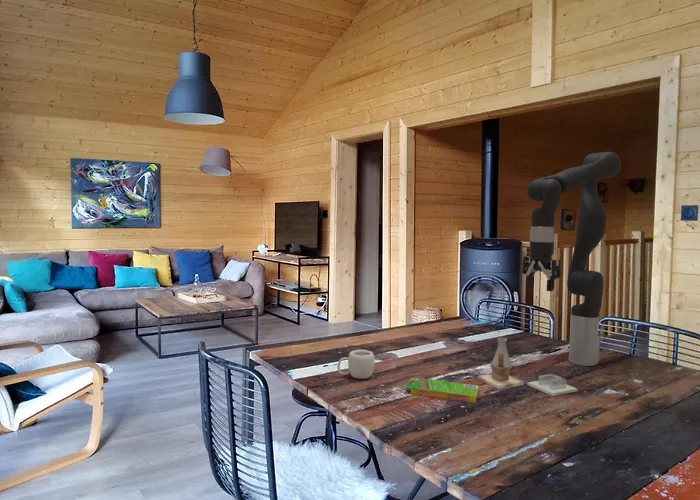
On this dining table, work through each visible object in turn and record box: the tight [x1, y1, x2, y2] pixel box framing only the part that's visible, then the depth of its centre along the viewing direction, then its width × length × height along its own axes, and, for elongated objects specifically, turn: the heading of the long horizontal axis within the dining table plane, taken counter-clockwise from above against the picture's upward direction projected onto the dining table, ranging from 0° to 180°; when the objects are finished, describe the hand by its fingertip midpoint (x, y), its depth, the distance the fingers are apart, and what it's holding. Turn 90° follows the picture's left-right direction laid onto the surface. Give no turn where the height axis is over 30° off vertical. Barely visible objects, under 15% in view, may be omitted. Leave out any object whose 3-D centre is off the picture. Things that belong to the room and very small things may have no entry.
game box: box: [405, 377, 480, 404], centre depth 150 cm, size 3×10×20 cm
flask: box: [490, 337, 513, 370], centre depth 175 cm, size 7×7×10 cm
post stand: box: [476, 353, 525, 390], centre depth 159 cm, size 10×10×9 cm
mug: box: [336, 349, 375, 380], centre depth 163 cm, size 12×8×8 cm
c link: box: [537, 373, 567, 390], centre depth 155 cm, size 6×6×2 cm
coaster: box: [527, 380, 578, 397], centre depth 155 cm, size 10×10×1 cm
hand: (539, 289), depth 168 cm, fingers open, 8 cm apart
